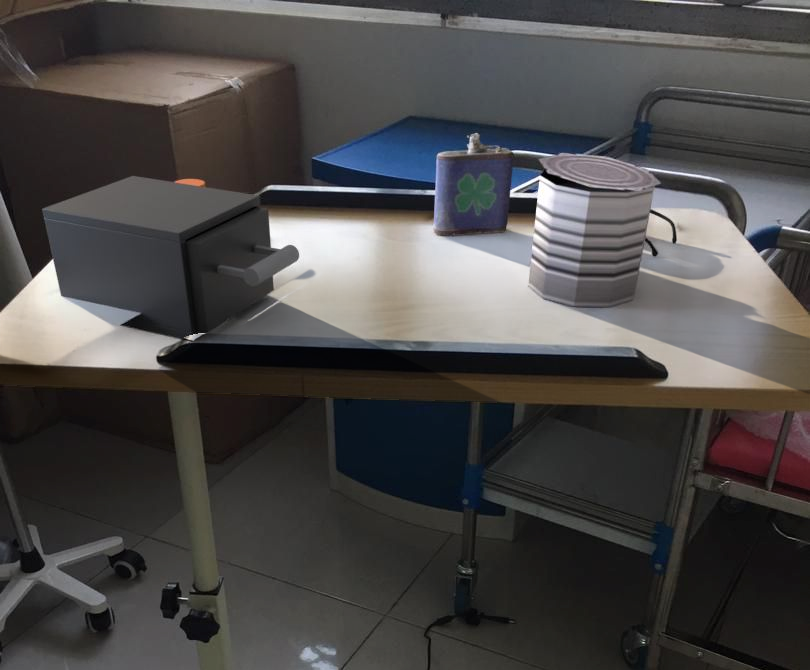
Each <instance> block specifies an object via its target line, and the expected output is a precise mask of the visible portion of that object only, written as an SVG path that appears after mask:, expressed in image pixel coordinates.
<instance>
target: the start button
mask: <svg viewBox="0 0 810 670" xmlns="http://www.w3.org/2000/svg"><path fill="white" fill-rule="evenodd" d="M174 182H175V183H182V184H188V185H195V186H201V187H206V182H205V180H202V179H197V178H183V179H178V180H175V181H174Z"/></svg>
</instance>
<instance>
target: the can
mask: <svg viewBox="0 0 810 670" xmlns="http://www.w3.org/2000/svg"><path fill="white" fill-rule="evenodd" d="M538 161H539V162H540V164H541V166H542V167H543V168H544V170H543V171H542V172H541V173H540V175H539V182H538V191H537V201H536V210H535V220H534V229H533V236H532V248H531V256H530V264H529V265H530V266H529V275H528V284H527V287H528V288H529V289H530V290H532V291H533V292H534V293H535V294H537V296H539V297H540V298H541V299H543V300H548V301H551V302H554V303H559V304H562V305H566V306H570V307H572V308H573V307H574V308H611V307H615V306H618V305H621V304H625V303H628V302H631V301H633V300H634V297H635V293H636V290H637V286H638V280H639V274H640V270H641V264H642V258H643V252H644V248H645V247H644V246H645V243H646V242H645V238H646V236H647V230H648V226H649V225H648V224H649V220H650V214H651V213H650V209H652V204H653V196H654V192H655V186H658V185H660V184H662V182H661V181H660V180H659V179H658V178H657V177H656V176H655V175H654V174H653V173H652V172H650V170H649V169H648V168H645V167H642V166H638V165H636V164H632V163H628V162H626V161H622V160H618V159H616V158H612V157H610V156H605V155H604V156H602V155H591V154H582V153H571V152H570V153H569V152H560V153H556V154H552V155H548V156H544V157H541V158H538Z"/></svg>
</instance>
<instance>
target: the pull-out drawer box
mask: <svg viewBox="0 0 810 670" xmlns="http://www.w3.org/2000/svg"><path fill="white" fill-rule="evenodd" d="M269 213H270V212H269V208H264V207H261V208H259V207H257V208H255V209H253V210H251V211H249V212H247V213H245V214H242V213H241V214H239V215H237V216H235V217H232V218H230V219H228V220H226V221H224V222H222V223H220V224H218V225H216V226H214V227H212V228H210V229H207V230H205V231H203V232H201V233H199V234H197V235H195V236H193V237H191V238H189V239H187V240H185V241H186V242H185V244H186V252H187V260H188V268H189V276H190V284H191V292H192V300H193V308H194V316H195V323H196V330H200V331H205V332H208V331H209V332H211V331H212V330H214V329H215V327H216V326H217V327H219V326H220V325H222V324H224V323H225V322H226V320H227V319H228V320H230V319H231V318H233V317H235V316H236V315H238V314H239V313H241V312H242V311H244V310H246V309H247V308H249V307H251V306H252V305H254V304H255V303H257V302H259V301H260V300H262V299H263V298H265V297H266V296H268V294H270V293H272V292H273V291H275V287H274V286H275V285H274V276H275V275H277V274H278V273H280V272H281V271H283V270H285V269H286V268H288V267H290V266H291V265H293V264H295V263H296V262H298V261H299V258H300V251H299V249H298V248H297V247H296V246H295V245H292V244H288V245H285V246H283V247H282V248H276V247H272V243H271V230H270V229H271V228H270V214H269ZM265 295H266V296H265ZM264 296H265V297H264ZM262 297H263V298H262ZM259 299H260V300H259ZM256 301H257V302H256ZM254 302H255V303H254ZM251 304H252V305H251ZM248 306H249V307H248ZM246 307H247V308H246ZM245 308H246V309H245ZM243 309H244V310H243ZM240 311H241V312H240ZM238 312H239V313H238ZM237 313H238V314H237ZM235 314H236V315H235ZM232 316H233V317H232ZM230 317H231V318H230ZM229 318H230V319H229ZM228 320H227V321H228ZM224 321H225V322H224ZM223 322H224V323H223ZM221 323H222V324H221ZM219 324H220V325H219ZM218 325H219V326H218ZM217 327H216V328H217ZM213 328H214V329H213ZM211 329H212V330H211ZM210 330H211V331H210ZM209 332H208V333H209Z"/></svg>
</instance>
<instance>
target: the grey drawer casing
mask: <svg viewBox="0 0 810 670" xmlns="http://www.w3.org/2000/svg"><path fill="white" fill-rule="evenodd" d="M257 207H259V208H262V207H261V196H260V195H258V194H257V195H256V194H252V193H247V192H239V191H233V190H227V189H219V188H214V187H208V186H207V187H206V186H205V187H201V186H195V185H188V184H182V183H175V181H168V180H163V179H155V178H150V177H143V176H137V175H131V176H129V177H125V178H122V179H121V180H117V181H115V182H112V183H109V184H107V185H104V186H101V187H98V188H96V189H93V190H90V191H87V192H84V193H82V194H78V195H76V196H74V197H71V198H68V199H66V200H62V201H60V202H56V203H54V204H51V205H48V206H45V207H42V209H41V211H42V216H43V219H44V220H43V221H44V224H45V229H46V234H47V237H48V242H49V247H50V251H51V256H52V261H53V265H54V269H55V275H56V280H57V283H58V288H59V293H60V297H64V298H68V299H73V300H77V301H83V302H87V303H93V304H95V305H96V304H97V305H101V306H105V307H111V308H115V309H119V310H124V311H129V312H133V313H138V314H137V315H135V316H133V317H131V318H130V319H128V320H126V321H124V322H123V323H120V326H121V327H127V328H131V329H136V330H140V331H145V332H148V333H154V334H158V335H162V336H167V337H172V338H175V339H180V340H184V339H183V338H184V337H186V336H189V335H193V334H198V333H206V334H208V333H209V332H211V331H212V330H214V329H215V328H217V327H219V326H220V325H222V324H224V323H225V322H226V321H228V320H230V319H232V318H233V317H234V316H236V315H238V314H240V313H241V312H242V311H245V310H246V309H247V308H249V307H250V306H252V305H253V304H255V303H257V302H258V301H261V299H263V298H265V297H266V296H267V295H265V296H264V297H262V298H261V299H259V300H258V301H256V302H254V303H253V304H251V305H250V306H248V307H246V308H245V309H243V310H242V311H240V312H238V313H237V314H235V315H234V316H232V317H230V318H229V319H227V320H226V321H224V322H223V323H221V324H219V325H218V326H216V327H215V328H213V329H211V330H210V331H208V332H205V331H200V330H196V323H195V316H194V308H193V300H192V292H191V284H190V276H189V268H188V260H187V252H186V244H185V242H186V241H185V240H187V239H189V238H191V237H193V236H195V235H197V234H199V233H201V232H203V231H205V230H207V229H210V228H212V227H214V226H216V225H218V224H220V223H222V222H224V221H226V220H228V219H230V218H232V217H235V216H237V215H239V214H241V213H242V214H245V213H247V212H249V211H251V210H253V209H255V208H257Z"/></svg>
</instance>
